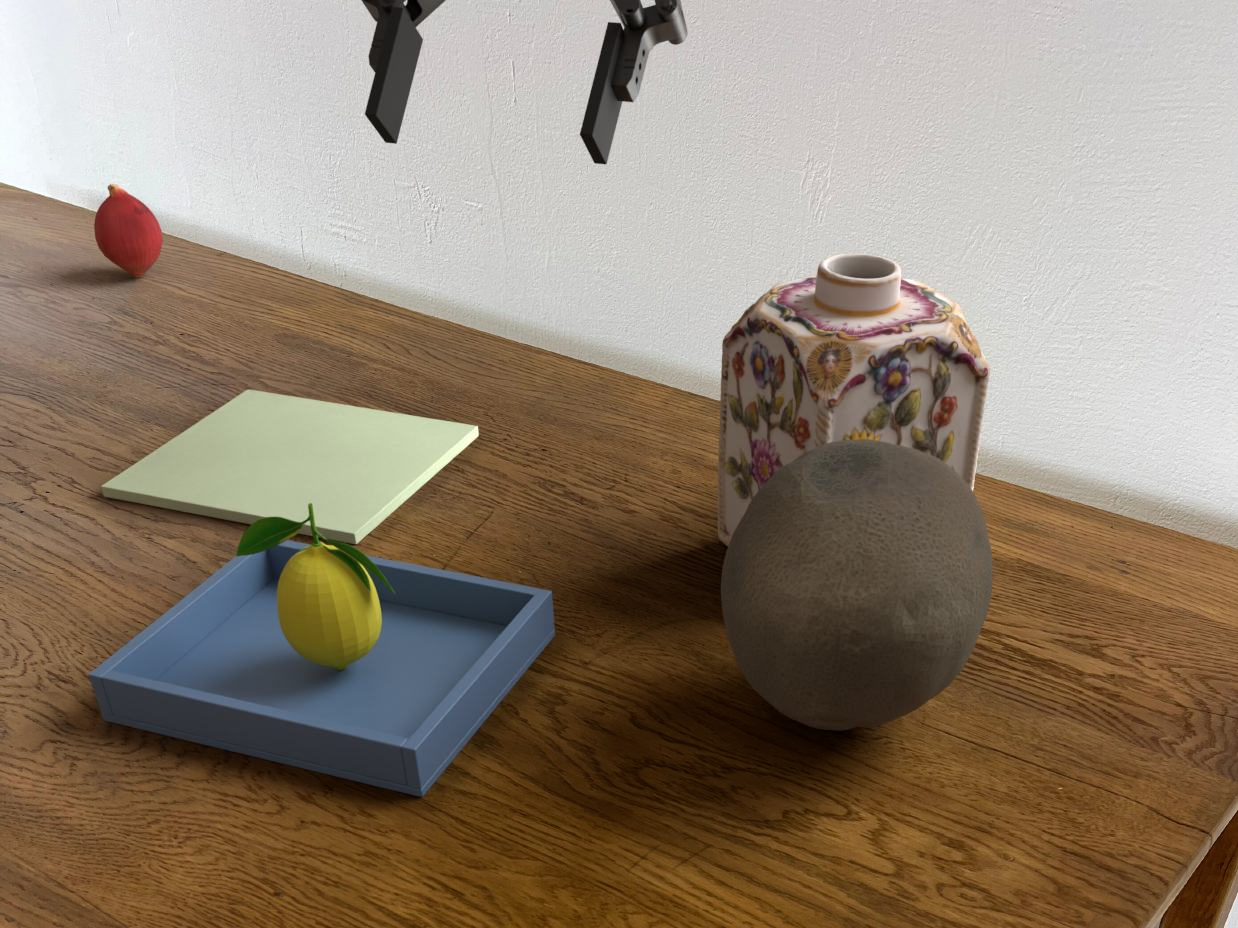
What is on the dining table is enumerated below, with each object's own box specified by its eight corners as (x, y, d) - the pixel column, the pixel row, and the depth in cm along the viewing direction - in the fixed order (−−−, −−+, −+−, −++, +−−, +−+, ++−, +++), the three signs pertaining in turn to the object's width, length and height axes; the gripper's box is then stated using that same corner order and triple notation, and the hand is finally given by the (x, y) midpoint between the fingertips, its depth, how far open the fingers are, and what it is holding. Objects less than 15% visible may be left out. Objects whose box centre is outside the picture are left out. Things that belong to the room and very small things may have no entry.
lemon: (261, 663, 77) (222, 499, 71) (350, 627, 80) (321, 466, 74) (323, 713, 74) (287, 546, 67) (413, 674, 77) (388, 509, 70)
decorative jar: (712, 540, 89) (717, 250, 77) (861, 502, 93) (888, 221, 81) (807, 624, 81) (830, 316, 69) (965, 579, 85) (1013, 280, 73)
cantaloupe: (660, 708, 75) (658, 447, 65) (841, 622, 82) (865, 373, 72) (843, 833, 67) (873, 558, 57) (1027, 726, 74) (1083, 463, 64)
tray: (103, 720, 74) (87, 674, 72) (271, 578, 86) (261, 534, 84) (422, 797, 69) (414, 750, 67) (555, 635, 81) (552, 590, 79)
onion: (155, 262, 131) (133, 171, 125) (181, 277, 127) (159, 184, 122) (97, 275, 128) (71, 182, 123) (121, 291, 125) (97, 196, 119)
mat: (103, 497, 94) (100, 486, 94) (250, 399, 107) (247, 388, 106) (356, 545, 89) (354, 533, 88) (479, 436, 101) (478, 425, 101)
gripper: (791, -153, 79) (703, 197, 79) (410, -166, 86) (328, 158, 85) (768, -269, 72) (671, 116, 72) (354, -274, 78) (264, 80, 78)
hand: (484, 140), depth 78 cm, fingers open, 13 cm apart
